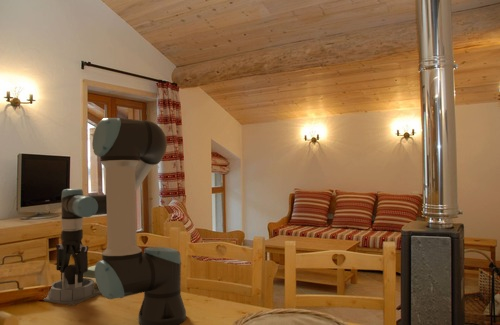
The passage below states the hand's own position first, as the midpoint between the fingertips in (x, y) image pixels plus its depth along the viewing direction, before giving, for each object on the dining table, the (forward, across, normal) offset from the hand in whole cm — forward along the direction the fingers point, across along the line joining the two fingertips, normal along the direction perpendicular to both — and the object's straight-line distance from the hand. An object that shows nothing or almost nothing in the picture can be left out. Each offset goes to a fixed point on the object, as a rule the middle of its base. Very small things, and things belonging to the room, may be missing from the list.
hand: (71, 289), depth 157 cm
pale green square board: (-3, 0, -16) cm, 16 cm away
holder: (+2, 0, 0) cm, 2 cm away
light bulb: (+1, 0, 0) cm, 1 cm away
